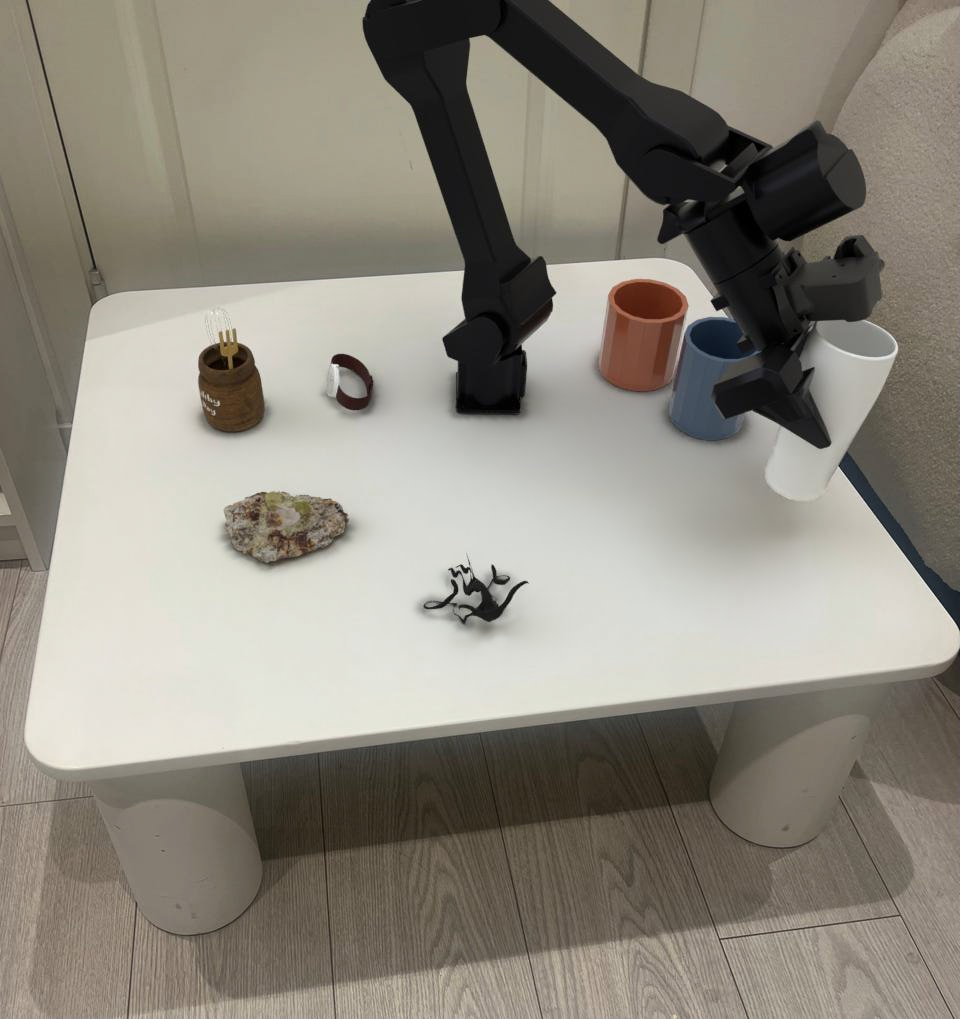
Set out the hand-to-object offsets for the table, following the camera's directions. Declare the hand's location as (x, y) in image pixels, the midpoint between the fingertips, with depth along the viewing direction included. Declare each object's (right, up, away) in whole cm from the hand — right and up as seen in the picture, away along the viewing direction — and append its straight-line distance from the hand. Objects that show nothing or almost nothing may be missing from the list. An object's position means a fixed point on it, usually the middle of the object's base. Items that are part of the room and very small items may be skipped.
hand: (839, 424), depth 83 cm
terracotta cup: (-13, +8, +25) cm, 29 cm away
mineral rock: (-46, -9, +6) cm, 48 cm away
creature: (-30, -15, +1) cm, 34 cm away
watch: (-43, +5, +20) cm, 48 cm away
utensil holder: (-54, +2, +17) cm, 56 cm away
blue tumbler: (-7, +2, +19) cm, 21 cm away
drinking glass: (-2, -5, +5) cm, 8 cm away
